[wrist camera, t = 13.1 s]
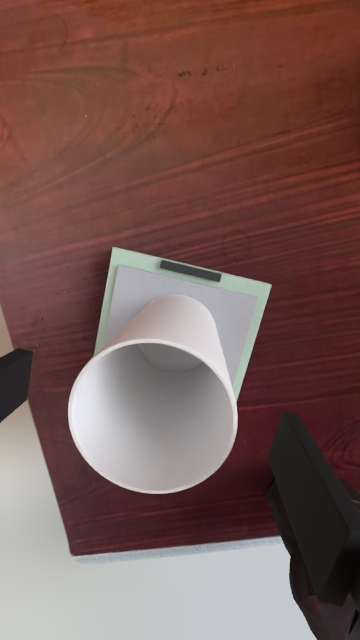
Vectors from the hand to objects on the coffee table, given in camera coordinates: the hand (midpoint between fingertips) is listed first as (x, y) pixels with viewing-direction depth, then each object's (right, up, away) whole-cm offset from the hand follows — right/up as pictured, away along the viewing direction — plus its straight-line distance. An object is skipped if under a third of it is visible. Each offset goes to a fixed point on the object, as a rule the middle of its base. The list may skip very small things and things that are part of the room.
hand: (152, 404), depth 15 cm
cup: (+1, +3, +15) cm, 15 cm away
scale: (+1, +3, +17) cm, 18 cm away
